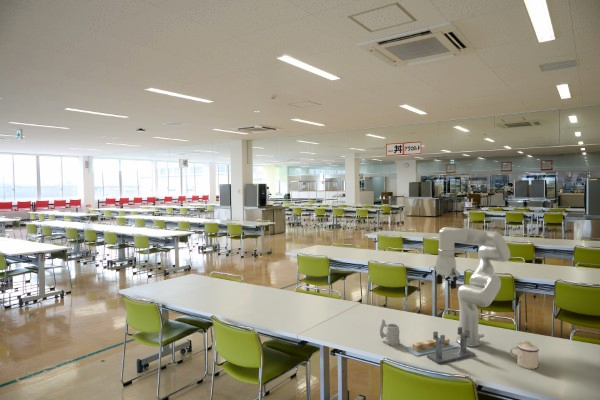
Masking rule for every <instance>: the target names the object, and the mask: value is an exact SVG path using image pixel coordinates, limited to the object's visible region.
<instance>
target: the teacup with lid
mask: <svg viewBox="0 0 600 400" xmlns="http://www.w3.org/2000/svg"><path fill="white" fill-rule="evenodd" d="M513 350H517V351H516V355H515V354H514V353H513ZM539 350H540V349H539V347H538V346H537V345H535V344H533V343H531V341H530V340H525V342H524V341H523V342H519V343H517V344H516V346H511V348H510V349H509V353H510V355H511V356H512V357H513V358H516V359H517V360H516V363H517V365H518V366H520V367H522V368H525V369H529V370H535V368H536V369H538V368H537V367H539Z"/></svg>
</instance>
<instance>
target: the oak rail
mask: <svg viewBox="0 0 600 400" xmlns="http://www.w3.org/2000/svg"><path fill="white" fill-rule="evenodd" d="M449 342H451V341H450V338H448V337H446V336H445V343H442V346H446V345H449ZM412 346H413V350H415V351H416V352H417V351H421V350H426V349H431V348H436V340H434V339H430V340H424V341H418V342H414V343H412Z"/></svg>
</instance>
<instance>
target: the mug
mask: <svg viewBox="0 0 600 400" xmlns="http://www.w3.org/2000/svg"><path fill="white" fill-rule="evenodd" d="M385 327H386V329H385ZM384 329H385V332H386V333H384ZM400 332H401V331H400V326H399V325H398V324H395V323H387V324H386V320H385V319H382V320H381V324H380V327H379V336H380V337H381V339H382V340H383V339H384V338H385V343H386V345H387V346H392V347H398V346H399V345H400V342H401V339H400V334H401V333H400Z"/></svg>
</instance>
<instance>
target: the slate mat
mask: <svg viewBox="0 0 600 400" xmlns="http://www.w3.org/2000/svg"><path fill="white" fill-rule="evenodd" d="M458 348H460V346H459V345H458V344H455V343H453V342H451V341H450V342H449V345H446V346H442V352H444V351H449V350H453V349H458ZM403 349H404V350H405V351H406V352H409V353H410V354H412V355H413V356H414V357H420V356H421V357H422V356H425V355H426V356H427V355H430V354H435V353H436V348H431V349H426V350H421V351H417V352H416V351H415V350H413V345H412V346H407V347H406V346H405V347H404V348H403Z"/></svg>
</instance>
